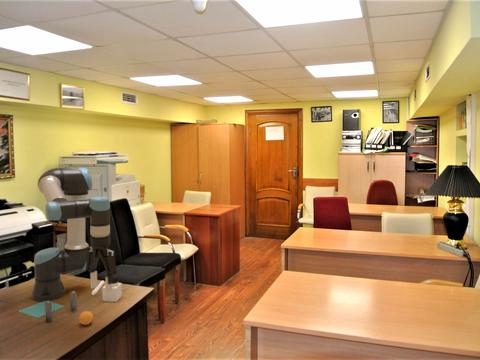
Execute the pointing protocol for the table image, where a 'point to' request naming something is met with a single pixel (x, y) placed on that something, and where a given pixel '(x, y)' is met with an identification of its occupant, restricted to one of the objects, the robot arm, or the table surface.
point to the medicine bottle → (113, 291)
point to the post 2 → (73, 301)
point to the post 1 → (48, 311)
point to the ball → (86, 318)
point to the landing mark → (39, 309)
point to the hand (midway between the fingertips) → (101, 289)
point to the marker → (98, 287)
